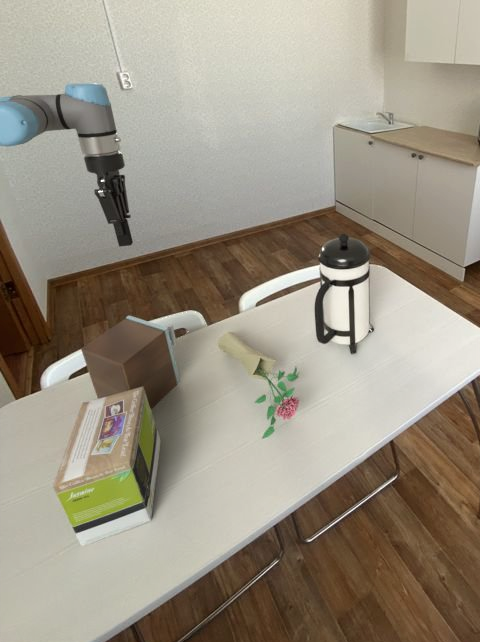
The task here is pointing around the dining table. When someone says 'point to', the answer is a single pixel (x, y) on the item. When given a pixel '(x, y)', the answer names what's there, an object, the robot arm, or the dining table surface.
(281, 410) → the flower vase
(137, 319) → the door
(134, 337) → the cabinet
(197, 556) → the dining table surface
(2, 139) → the robot arm
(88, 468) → the tea box
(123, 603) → the dining table surface
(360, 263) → the coffee press
